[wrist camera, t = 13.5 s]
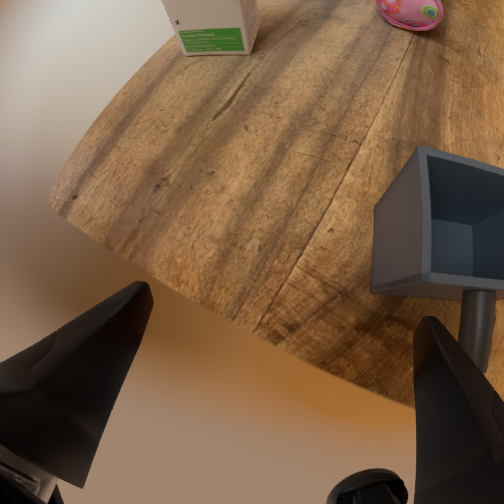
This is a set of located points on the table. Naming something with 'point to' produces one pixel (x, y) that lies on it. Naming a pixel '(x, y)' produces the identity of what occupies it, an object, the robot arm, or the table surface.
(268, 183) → the table surface
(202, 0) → the cosmetic box
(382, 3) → the pencil case
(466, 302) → the grey box with peg
